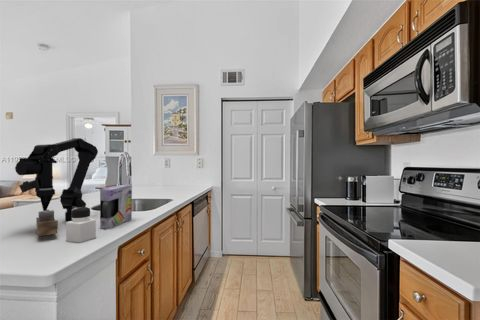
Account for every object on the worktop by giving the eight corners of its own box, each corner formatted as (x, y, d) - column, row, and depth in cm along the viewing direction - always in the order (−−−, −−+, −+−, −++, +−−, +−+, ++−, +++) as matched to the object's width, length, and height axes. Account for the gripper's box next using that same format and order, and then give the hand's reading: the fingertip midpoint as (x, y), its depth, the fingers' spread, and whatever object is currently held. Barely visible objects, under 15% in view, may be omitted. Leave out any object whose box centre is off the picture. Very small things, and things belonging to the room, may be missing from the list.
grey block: (53, 222, 114) (53, 208, 114) (54, 224, 111) (54, 210, 111) (38, 224, 111) (38, 210, 111) (38, 226, 108) (38, 211, 108)
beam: (53, 227, 122) (53, 211, 122) (57, 239, 104) (57, 220, 104) (36, 229, 118) (36, 213, 118) (38, 242, 100) (37, 223, 100)
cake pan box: (108, 230, 117) (107, 188, 117) (97, 229, 118) (97, 188, 118) (132, 219, 136) (132, 184, 136) (123, 219, 137) (123, 184, 137)
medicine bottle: (96, 237, 106) (96, 206, 106) (80, 243, 99) (79, 210, 99) (82, 236, 108) (82, 205, 108) (65, 241, 101) (65, 209, 101)
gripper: (20, 173, 120) (21, 209, 120) (20, 175, 105) (20, 216, 105) (51, 172, 127) (51, 206, 127) (54, 174, 112) (55, 212, 112)
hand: (44, 210), depth 118 cm, fingers closed
